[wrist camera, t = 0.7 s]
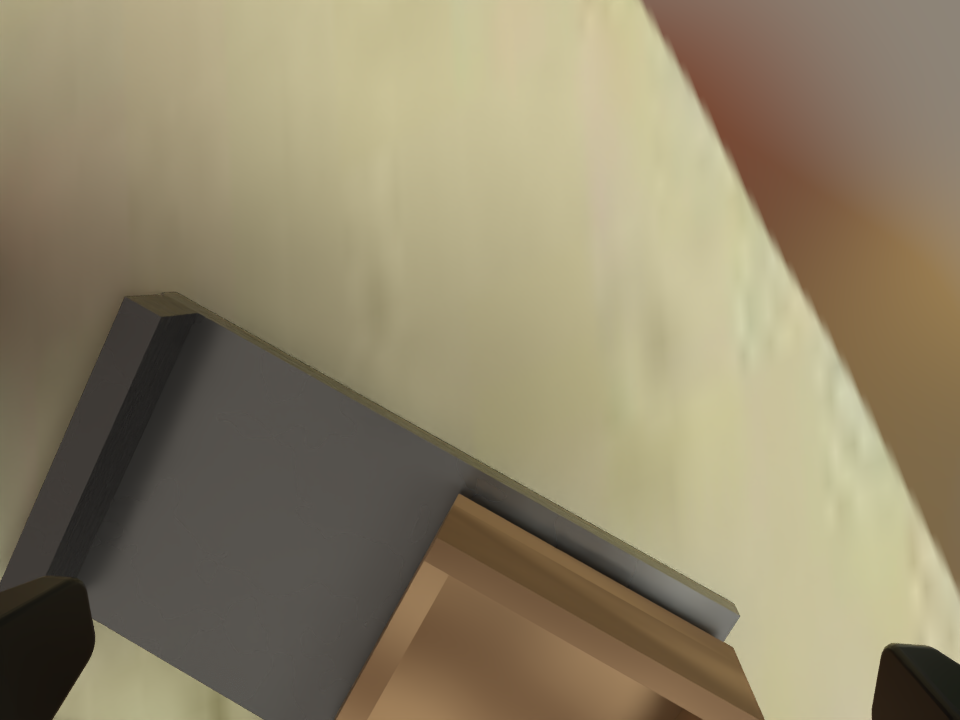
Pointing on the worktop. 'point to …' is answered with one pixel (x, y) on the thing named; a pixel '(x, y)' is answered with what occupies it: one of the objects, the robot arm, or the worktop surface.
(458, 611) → the wooden crate tray
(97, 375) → the grey flat slab
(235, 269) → the worktop surface
